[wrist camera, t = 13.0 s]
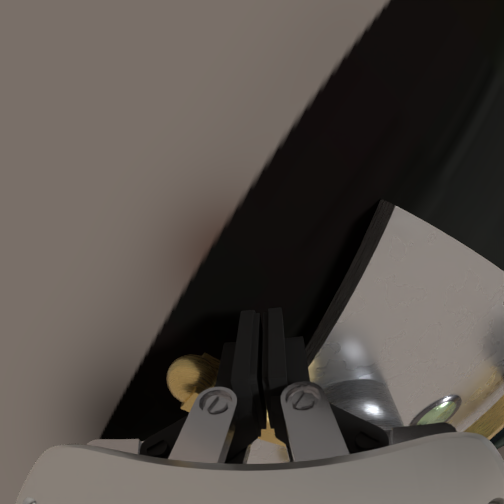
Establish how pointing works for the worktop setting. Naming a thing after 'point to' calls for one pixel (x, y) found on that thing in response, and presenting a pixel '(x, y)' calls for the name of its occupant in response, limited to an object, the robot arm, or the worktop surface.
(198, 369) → the knob
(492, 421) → the knob
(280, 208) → the worktop surface
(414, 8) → the worktop surface
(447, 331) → the plate
